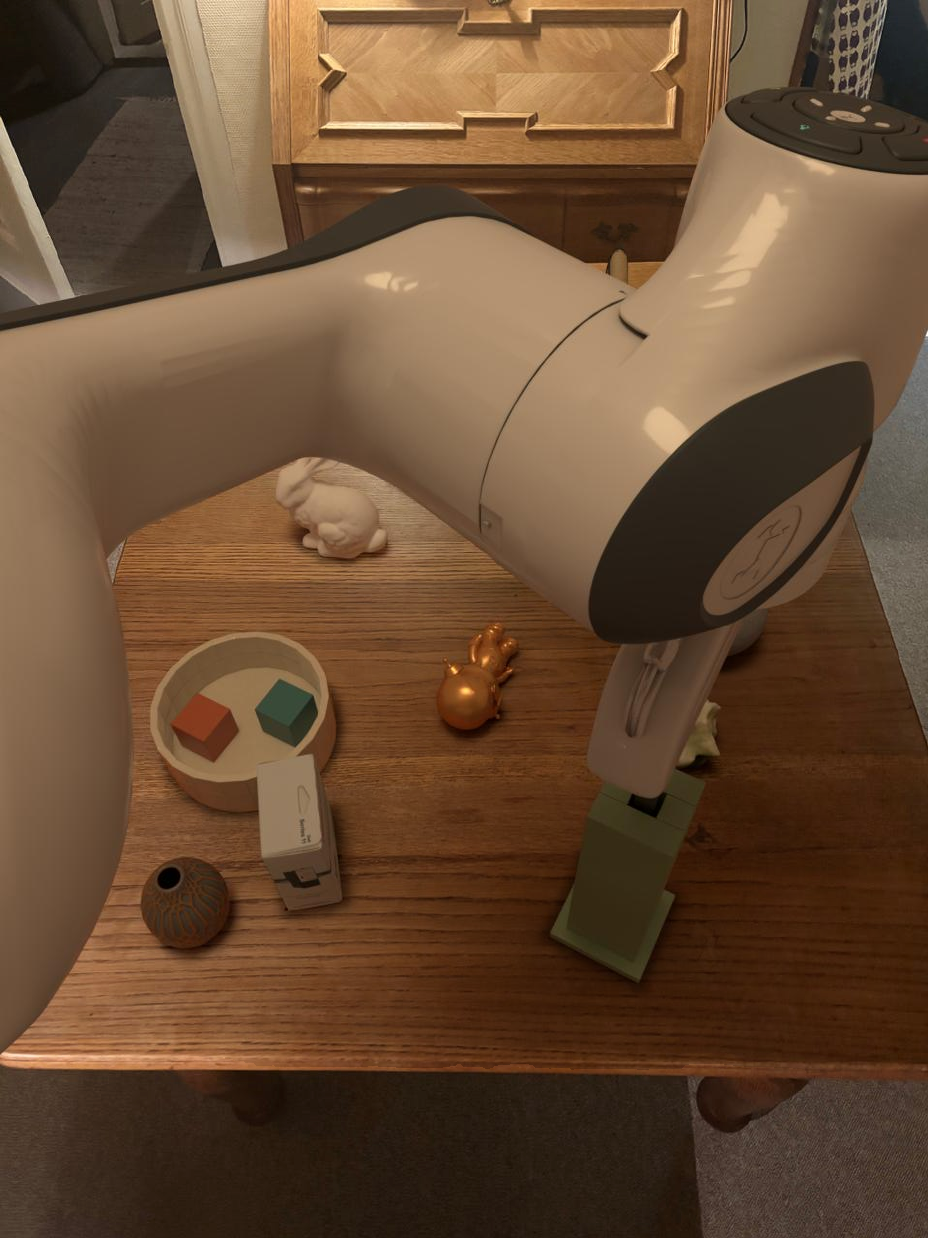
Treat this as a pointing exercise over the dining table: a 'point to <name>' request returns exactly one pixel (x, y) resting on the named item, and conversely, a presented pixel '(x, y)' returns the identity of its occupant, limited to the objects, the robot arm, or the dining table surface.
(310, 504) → the rabbit
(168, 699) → the bowl
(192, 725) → the terracotta block
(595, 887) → the stick stand
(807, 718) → the dining table surface
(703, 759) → the cream irregular lump
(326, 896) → the ink box
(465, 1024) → the dining table surface
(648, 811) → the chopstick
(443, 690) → the figurine
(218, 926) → the vase
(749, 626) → the decorative ball
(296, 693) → the teal block
